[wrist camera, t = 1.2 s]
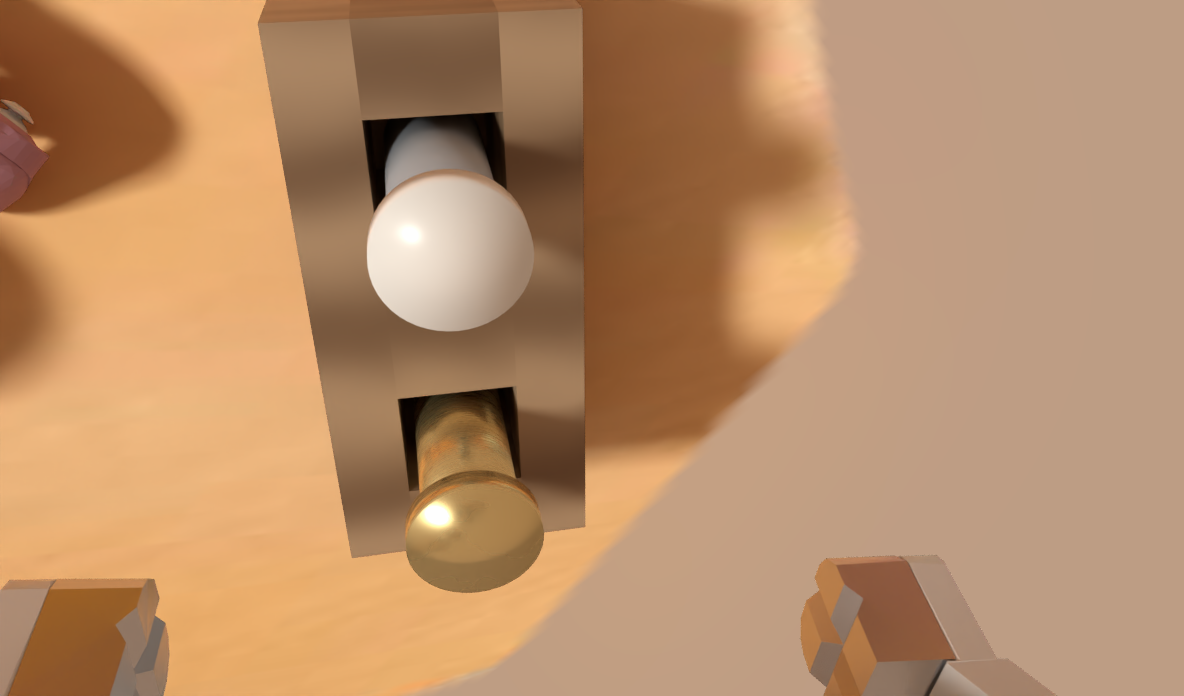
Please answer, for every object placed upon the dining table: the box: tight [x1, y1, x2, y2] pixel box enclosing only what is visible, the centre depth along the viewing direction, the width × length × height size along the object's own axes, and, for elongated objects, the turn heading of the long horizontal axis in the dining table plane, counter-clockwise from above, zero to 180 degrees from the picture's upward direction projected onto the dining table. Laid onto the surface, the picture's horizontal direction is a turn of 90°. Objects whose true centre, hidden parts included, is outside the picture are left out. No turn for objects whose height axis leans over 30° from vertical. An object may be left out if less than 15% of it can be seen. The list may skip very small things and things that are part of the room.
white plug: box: [367, 114, 534, 331], centre depth 33 cm, size 5×5×10 cm
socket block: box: [258, 0, 585, 558], centre depth 40 cm, size 22×10×8 cm, turn 0°
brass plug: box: [405, 388, 544, 593], centre depth 38 cm, size 5×5×10 cm
